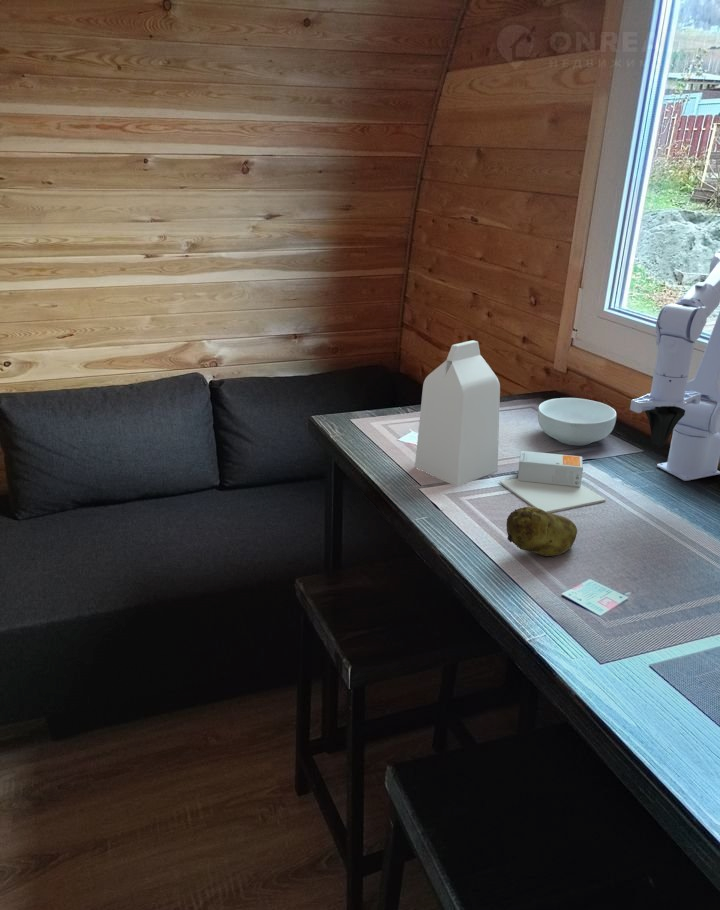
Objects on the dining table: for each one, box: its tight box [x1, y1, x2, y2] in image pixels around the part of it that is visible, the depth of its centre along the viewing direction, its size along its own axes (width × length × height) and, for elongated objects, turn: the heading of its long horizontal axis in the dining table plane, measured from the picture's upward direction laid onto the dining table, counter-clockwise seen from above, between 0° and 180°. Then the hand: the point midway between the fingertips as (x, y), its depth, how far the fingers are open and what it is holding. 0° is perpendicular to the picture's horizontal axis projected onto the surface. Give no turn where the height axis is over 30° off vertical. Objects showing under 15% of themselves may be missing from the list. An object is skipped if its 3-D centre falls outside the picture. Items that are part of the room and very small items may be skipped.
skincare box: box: [517, 450, 584, 487], centre depth 151 cm, size 6×4×12 cm
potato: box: [506, 506, 578, 557], centre depth 124 cm, size 8×13×8 cm, turn 98°
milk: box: [414, 340, 501, 488], centre depth 151 cm, size 12×12×26 cm
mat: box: [499, 477, 607, 514], centre depth 147 cm, size 14×14×1 cm
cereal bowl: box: [537, 397, 617, 446], centre depth 171 cm, size 17×17×7 cm
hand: (658, 444), depth 142 cm, fingers closed
